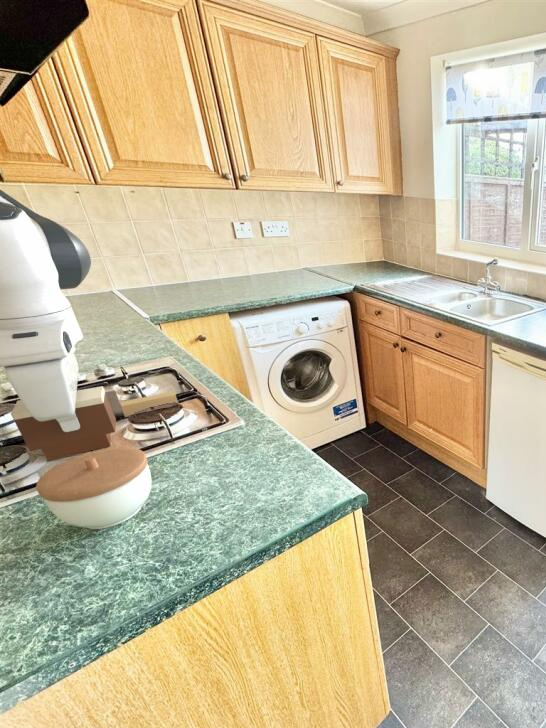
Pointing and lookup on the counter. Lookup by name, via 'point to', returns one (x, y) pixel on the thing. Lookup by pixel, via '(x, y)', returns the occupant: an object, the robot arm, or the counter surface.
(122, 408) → the cleaver
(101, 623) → the counter surface
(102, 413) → the cake slice
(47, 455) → the cake
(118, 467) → the lidded bowl
